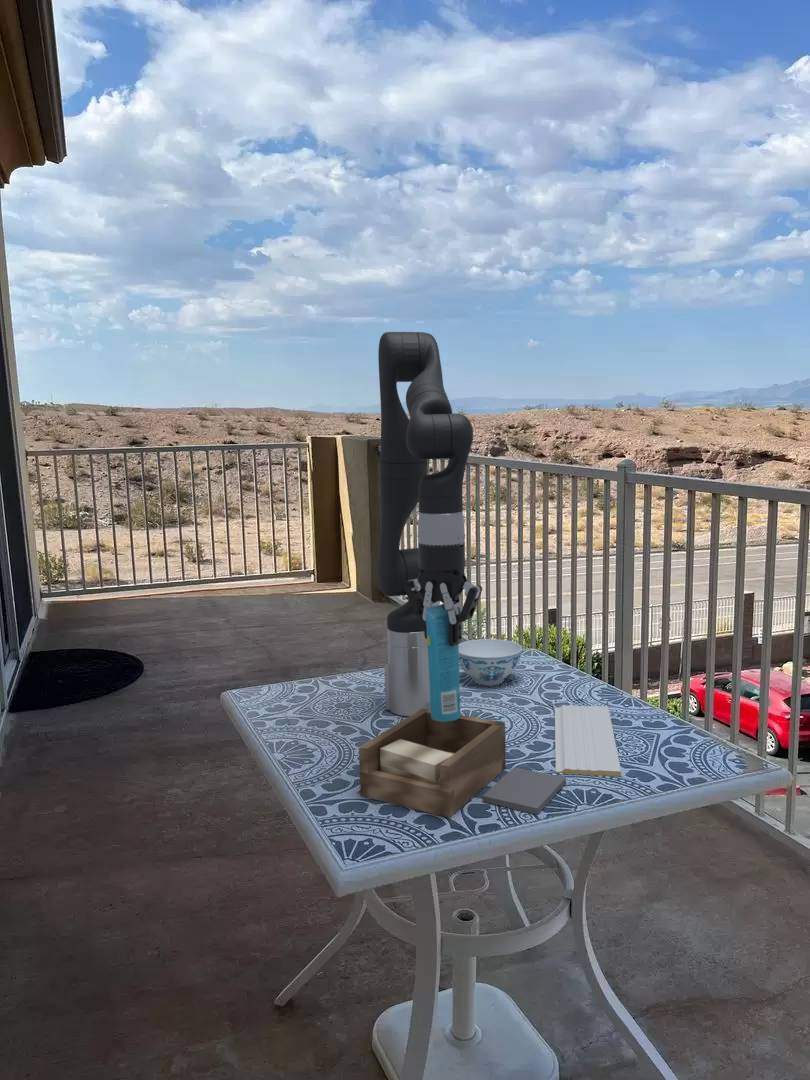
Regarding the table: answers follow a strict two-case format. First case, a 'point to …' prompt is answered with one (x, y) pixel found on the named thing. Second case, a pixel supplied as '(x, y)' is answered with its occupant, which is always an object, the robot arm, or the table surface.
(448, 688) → the tube
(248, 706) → the table surface
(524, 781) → the mat
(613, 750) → the baseboard molding
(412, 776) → the offcut middle
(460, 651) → the chinaware
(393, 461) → the robot arm
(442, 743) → the open wooden box
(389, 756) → the offcut top
